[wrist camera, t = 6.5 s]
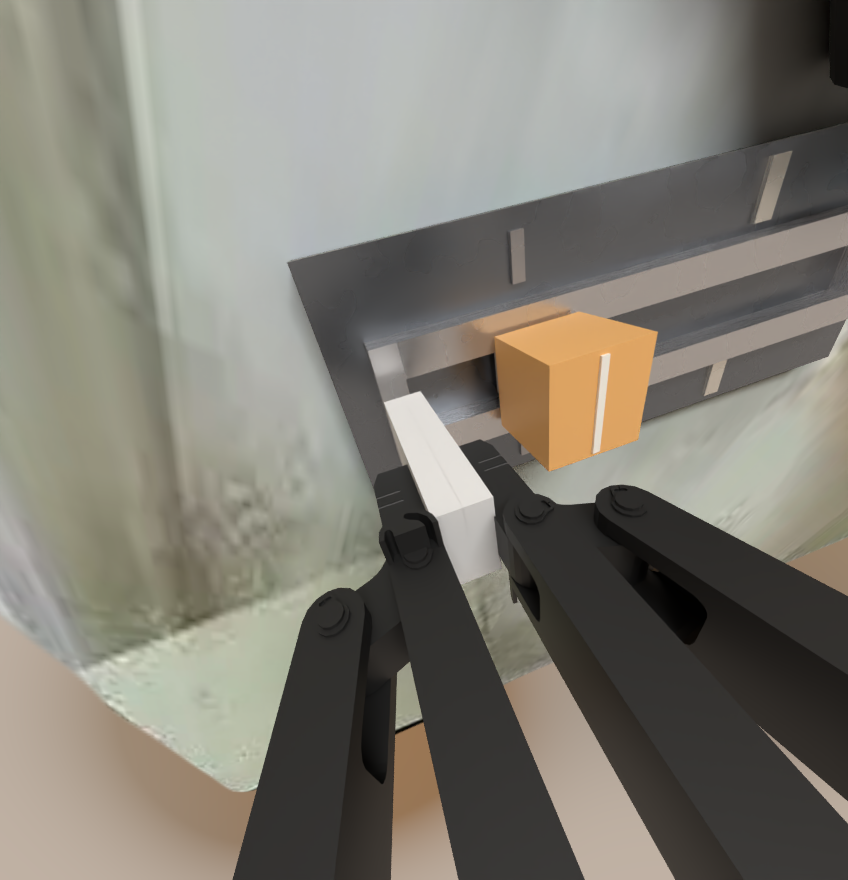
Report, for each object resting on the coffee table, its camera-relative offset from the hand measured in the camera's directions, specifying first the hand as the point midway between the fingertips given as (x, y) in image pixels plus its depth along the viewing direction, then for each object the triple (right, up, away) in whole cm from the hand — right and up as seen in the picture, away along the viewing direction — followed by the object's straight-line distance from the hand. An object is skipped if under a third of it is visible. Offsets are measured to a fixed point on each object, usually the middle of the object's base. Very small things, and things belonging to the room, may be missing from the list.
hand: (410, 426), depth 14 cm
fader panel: (+12, +6, +5) cm, 14 cm away
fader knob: (+5, +3, +3) cm, 7 cm away
